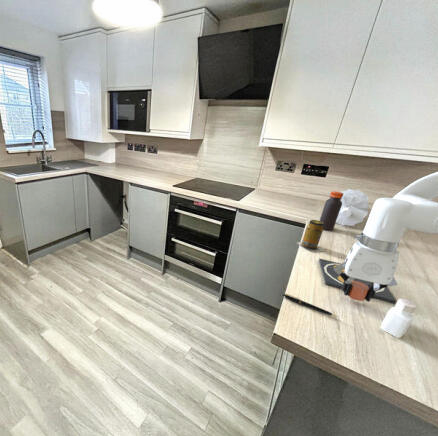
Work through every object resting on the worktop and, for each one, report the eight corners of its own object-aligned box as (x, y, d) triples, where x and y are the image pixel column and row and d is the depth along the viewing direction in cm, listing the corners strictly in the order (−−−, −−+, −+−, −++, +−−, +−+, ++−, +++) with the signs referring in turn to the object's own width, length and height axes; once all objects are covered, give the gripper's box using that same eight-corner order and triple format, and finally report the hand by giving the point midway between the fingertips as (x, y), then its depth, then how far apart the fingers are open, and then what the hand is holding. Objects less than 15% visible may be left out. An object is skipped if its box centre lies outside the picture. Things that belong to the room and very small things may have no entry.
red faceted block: (362, 294, 73) (367, 283, 71) (366, 303, 69) (371, 292, 68) (344, 289, 75) (349, 279, 73) (347, 297, 71) (352, 287, 70)
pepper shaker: (404, 333, 62) (421, 305, 58) (399, 339, 60) (416, 310, 56) (384, 323, 65) (399, 295, 61) (378, 328, 63) (394, 300, 59)
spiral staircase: (329, 230, 134) (335, 217, 151) (371, 227, 121) (372, 213, 138) (321, 200, 132) (328, 190, 149) (363, 193, 119) (365, 183, 136)
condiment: (309, 242, 110) (317, 218, 106) (325, 251, 102) (334, 226, 98) (296, 243, 109) (303, 219, 104) (311, 252, 101) (319, 226, 97)
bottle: (316, 228, 126) (328, 192, 119) (318, 224, 131) (330, 190, 123) (331, 232, 122) (344, 195, 114) (333, 228, 126) (346, 192, 119)
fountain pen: (338, 317, 66) (339, 313, 66) (338, 320, 65) (339, 316, 65) (281, 295, 74) (282, 291, 74) (280, 297, 73) (282, 293, 73)
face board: (376, 274, 87) (377, 271, 87) (395, 303, 72) (396, 300, 72) (318, 260, 95) (319, 258, 95) (324, 284, 80) (325, 281, 80)
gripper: (342, 240, 66) (323, 293, 72) (427, 256, 58) (397, 313, 65) (338, 231, 72) (320, 280, 79) (413, 244, 64) (387, 297, 71)
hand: (355, 295), depth 72 cm, fingers closed on red faceted block, 4 cm apart
